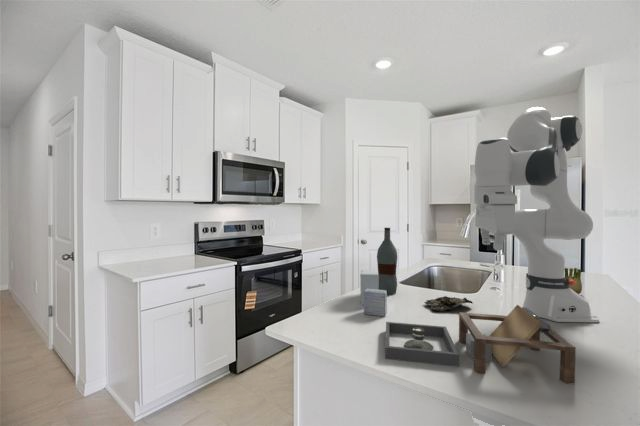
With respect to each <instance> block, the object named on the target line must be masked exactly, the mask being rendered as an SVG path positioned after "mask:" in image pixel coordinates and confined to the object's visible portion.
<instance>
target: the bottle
mask: <svg viewBox="0 0 640 426" xmlns="http://www.w3.org/2000/svg"><path fill="white" fill-rule="evenodd" d="M383 229H384V233H383V235H384V238H383V239H384V240H383V241H382V242H381V244H380V245H379V247H378V249H377V251H376V260H377V261H376V262H377V271H378V275H379V290H386V291H387V296H392V295H395V294H396V293H397V290H398V278H397V267H398V266H397V265H398V252H397V247H396V246H395V244H394V243H393V242H392V240H391V227H384V228H383Z"/></svg>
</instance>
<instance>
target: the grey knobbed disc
mask: <svg viewBox="0 0 640 426" xmlns="http://www.w3.org/2000/svg"><path fill="white" fill-rule="evenodd" d="M412 333H413V335H412V338H413V339H410V340H407V341H405V342H404V347H405V348H414V349H424V350H434V345H432V344H431V343H430V342H428V341H425V340H424V338H425V336H424V334H425V332H424V329H422V328H419V327H414V328H413V330H412Z"/></svg>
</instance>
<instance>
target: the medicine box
mask: <svg viewBox="0 0 640 426" xmlns="http://www.w3.org/2000/svg"><path fill="white" fill-rule="evenodd" d="M387 298H388V295H387V291H386V290H377V289H366V290H365V291H364V304H363V315H369V316H376V317H378V316H379V317H386V315H387V313H388V312H387V311H388V310H387V309H388V307H387V306H388V305H387Z"/></svg>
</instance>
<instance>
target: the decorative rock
mask: <svg viewBox="0 0 640 426" xmlns="http://www.w3.org/2000/svg"><path fill="white" fill-rule="evenodd" d="M467 303H469V304H474V302H473V301H472V300H470V299H467V297H463V298H460V297H455V296H454V297H450V296H447V295H444V296H440V297H436V298H435V299H434V298H432V299H426V301H424V304H425V305H426V306H430V309H431V310H432V311H434V312H444V311H447V310H449V311H453V310H455V309H457V308H458V307H457V306H460V305H463V304H467Z"/></svg>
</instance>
